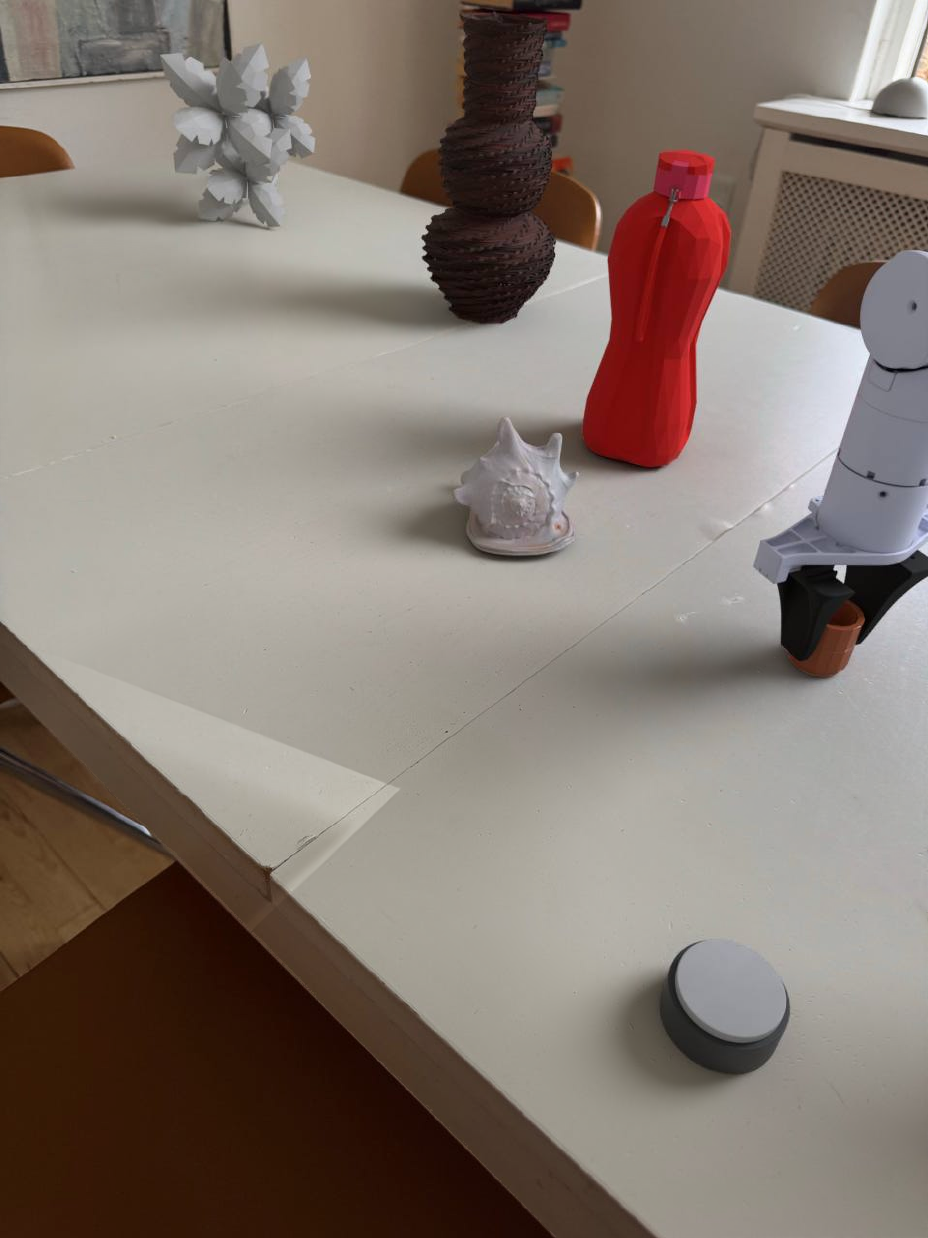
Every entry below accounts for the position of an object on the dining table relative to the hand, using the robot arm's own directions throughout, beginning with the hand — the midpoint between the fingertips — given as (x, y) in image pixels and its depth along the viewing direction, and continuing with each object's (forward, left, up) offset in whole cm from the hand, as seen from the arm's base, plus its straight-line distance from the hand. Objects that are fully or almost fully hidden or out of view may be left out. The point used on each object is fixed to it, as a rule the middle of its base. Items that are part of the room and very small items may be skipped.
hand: (821, 643), depth 65 cm
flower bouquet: (+105, -50, -2) cm, 116 cm away
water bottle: (+24, -19, -2) cm, 31 cm away
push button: (-5, +29, -1) cm, 29 cm away
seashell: (+26, -1, -2) cm, 26 cm away
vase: (+54, -39, -2) cm, 67 cm away
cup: (0, 0, -1) cm, 1 cm away
